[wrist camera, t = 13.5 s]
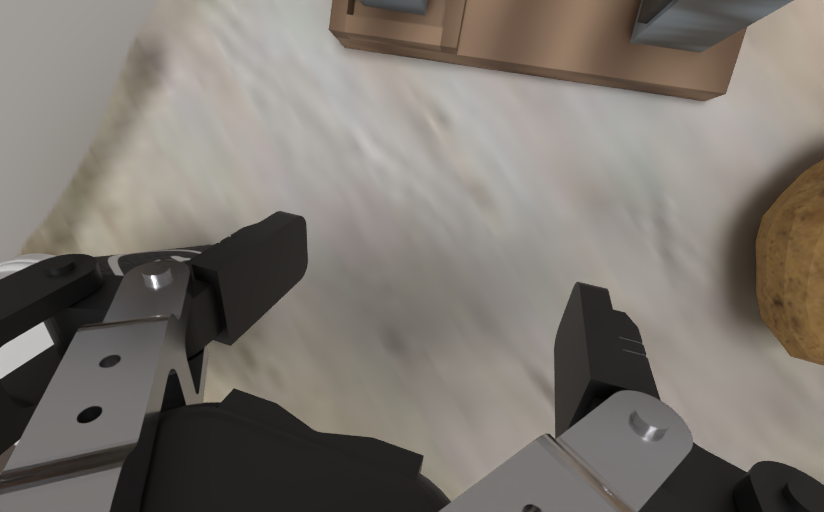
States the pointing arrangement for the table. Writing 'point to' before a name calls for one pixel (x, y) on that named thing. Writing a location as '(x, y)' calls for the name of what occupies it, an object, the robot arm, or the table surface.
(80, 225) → the table surface
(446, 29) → the wooden block holder
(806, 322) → the potato
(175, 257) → the coffee cup
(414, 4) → the block
